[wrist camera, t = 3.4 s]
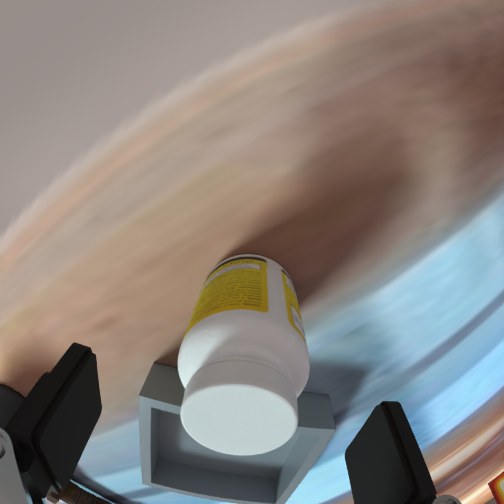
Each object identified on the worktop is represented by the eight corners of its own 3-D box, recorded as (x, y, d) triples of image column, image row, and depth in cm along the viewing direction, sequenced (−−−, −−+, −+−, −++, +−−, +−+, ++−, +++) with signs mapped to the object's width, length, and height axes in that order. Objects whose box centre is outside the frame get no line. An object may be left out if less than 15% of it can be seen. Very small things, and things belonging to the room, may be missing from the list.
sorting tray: (328, 394, 21) (336, 429, 18) (280, 478, 25) (281, 507, 22) (153, 362, 21) (138, 395, 17) (151, 456, 25) (142, 483, 21)
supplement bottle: (187, 305, 19) (136, 427, 10) (235, 233, 18) (206, 331, 8) (261, 348, 20) (259, 478, 11) (313, 284, 18) (354, 406, 9)
